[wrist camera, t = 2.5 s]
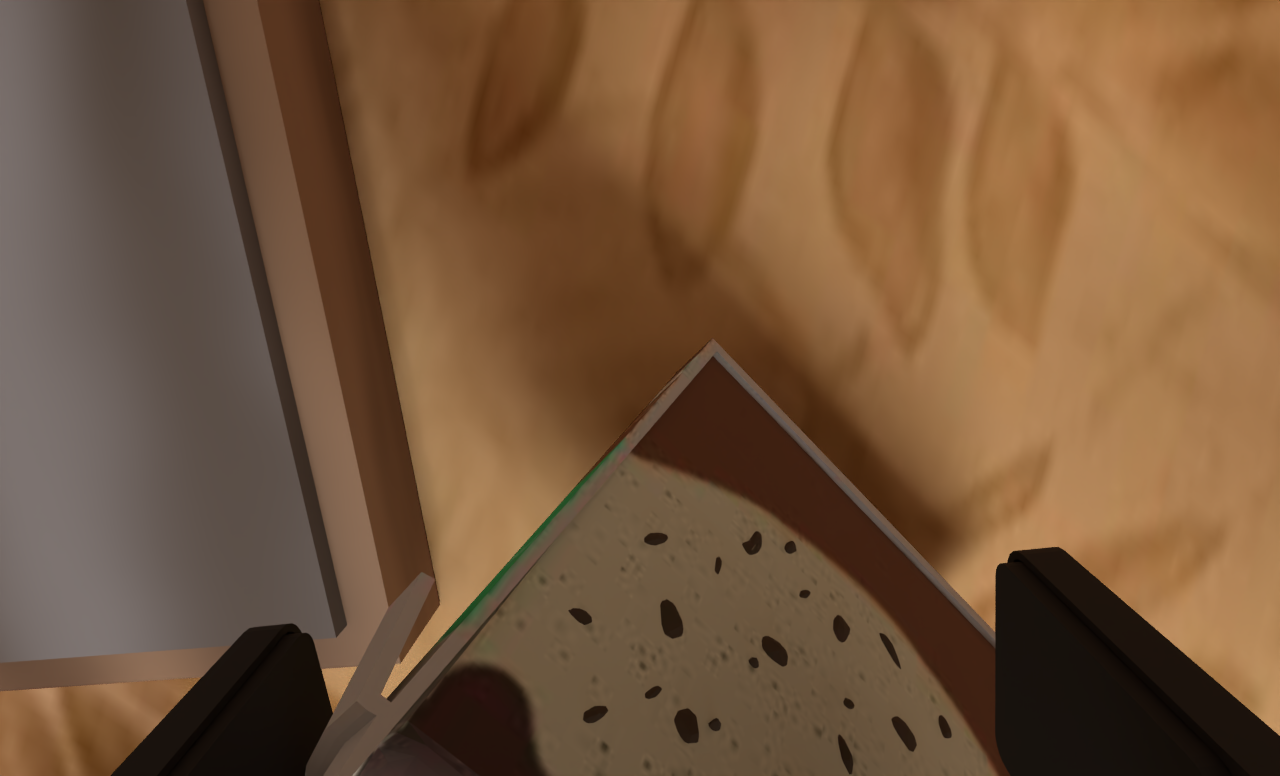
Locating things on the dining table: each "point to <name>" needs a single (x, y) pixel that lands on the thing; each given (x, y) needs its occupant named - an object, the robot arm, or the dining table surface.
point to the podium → (188, 348)
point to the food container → (689, 625)
